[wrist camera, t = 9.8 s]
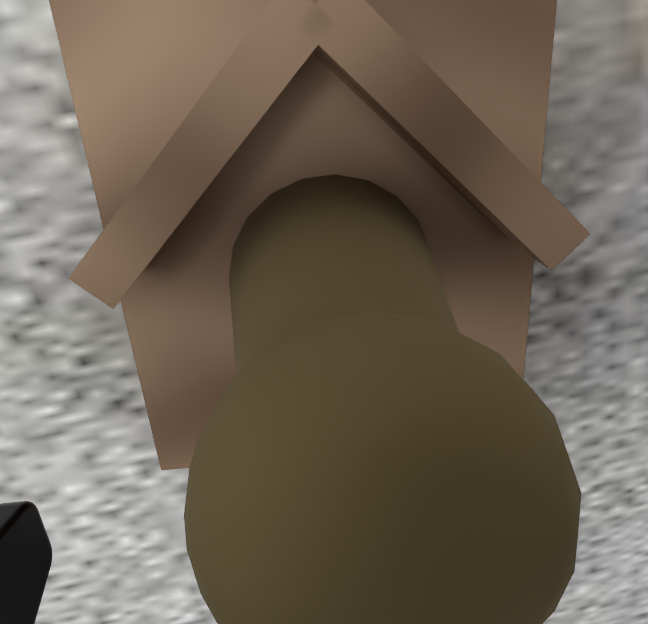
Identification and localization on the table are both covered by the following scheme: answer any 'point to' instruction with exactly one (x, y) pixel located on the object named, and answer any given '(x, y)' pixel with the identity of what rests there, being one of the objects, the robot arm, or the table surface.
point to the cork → (370, 437)
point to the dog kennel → (304, 158)
